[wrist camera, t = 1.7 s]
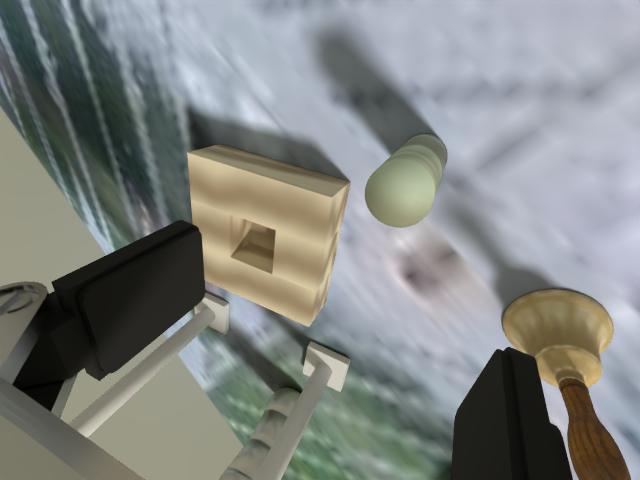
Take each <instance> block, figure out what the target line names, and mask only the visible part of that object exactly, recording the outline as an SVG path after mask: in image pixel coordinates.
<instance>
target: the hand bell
mask: <svg viewBox="0 0 640 480" xmlns="http://www.w3.org/2000/svg"><path fill="white" fill-rule="evenodd" d="M503 330H504V333H505V335H506V337H507V338H508V340H509V341H510V342H511V344H512V345H513V346H514V347H515V348H517V349H518V350H519V351H521V352H524V353H526V354H529V355H531V356H534V357H535V359H536V361H537V366H538V370H539V375H540V377H541V378H542V379H543V380H544V381H546V382H547V383H549V384H551V385H553V386H556V387H559V389H560V391H561V393H562V397H563V400H564V402H565V405H566V408H567V412H568V416H569V424H568V432H567V437H568V447H569V453H570V457H571V460H572V464H573V467H574V470H575V472H576V474H577V476H578V478H579V480H631V477H630V474H629V471H628V468H627V465H626V463H625V460H624V458H623V456H622V454H621V452H620V450H619V448H618V446H617V444H616V443H615V441H614V439H613V438H612V436H611V435H610V433H609V432H608V431H607V430H606V428H605V427H604V426H603V425H602V423H601V422H600V421H599V419H598V417H597V416H596V414H595V411H594V408H593V404H592V401H591V398H590V396H589V391H588V388H587V387H590V386H592V385H593V384H595V383H596V382H597V381H598V380H599V379H600V377H601V375H602V365H601V361H600V355H599V354H600V353H601V352H603V351H604V350H605V349H606V348H607V346H608V345H609V343H610V342H611V339H612V337H613V332H614V327H613V322H612V319H611V317H610V315H609V314H608V312H607V311H606V310H605V309H604V308H603V306H601V305H600V304H599V303H598V302H596V301H595V300H593V299H591V298H590V297H588V296H585V295H583V294H580V293H577V292H573V291H568V290H561V289H545V290H539V291H534V292H531V293H528V294H525V295H523V296H521V297H519V298H518V299H516V300H515V301H514V302H512V303H511V304H510V306H509V307H508V308H507V310H506V311H505V313H504V316H503Z"/></svg>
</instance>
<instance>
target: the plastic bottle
mask: <svg viewBox="0 0 640 480" xmlns="http://www.w3.org/2000/svg"><path fill="white" fill-rule="evenodd" d="M300 395H301V394H300V393H299V392H298V391H296V390H294V389H292V388H288V387H284V388H281V389H279V390H277V391H276V392H275V393H274V394H273V395H272V396H271V397H270V399H269V401H268V403H267V405H266V407H265V410H264V413H263V415H262V417H261V419H260V421H259V423H258V425H257V427H256V429H255V430H254V432H253V434H252V435H251V437H250V438H249V440H248V441H247V442H246V444H245V445H244V447H243V448H242V450H241V451H240V452H239V454H238V455H237V456H236V458H235V459H234V460H233V461H232V462H231V464H230V465H229V466H228V467H227V469H226V470H225V471H224V473H223V474H222V475H221V477H220V479H219V480H254V478H255V476H256V474H257V473H258V471H259V469H260V467H261V465H262V463H263V462H264V460H265V458H266V456H267V454H268V453H269V451H270V449H271V447H272V445H273V444H274V442H275V440H276V438H277V436H278V434H279V433H280V431H281V429H282V427H283V425H284V424H285V422H286V420H287V418H288V416H289V414H290V413H291V411H292V409H293V407H294V405H295V404H296V402H297V400H298V398H299V396H300Z"/></svg>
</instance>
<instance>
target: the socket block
mask: <svg viewBox="0 0 640 480" xmlns="http://www.w3.org/2000/svg"><path fill="white" fill-rule="evenodd" d="M187 155H188V168H189V181H190V194H191V207H192V220H193V225H196V226H197V227H198V228H199V231H200V232H201V234H202V246H203V261H204V277H205V281H208V282H210V283H212V284H214V285H217V286H219V287H221V288H223V289H225V290H228V291H230V292H232V293H234V294H237V295H239V296H241V297H243V298H245V299H248V300H250V301H252V302H254V303H257V304H259V305H261V306H263V307H265V308H268V309H270V310H272V311H274V312H277V313H279V314H281V315H283V316H285V317H288V318H290V319H292V320H294V321H297V322H299V323H301V324H303V325H305V326H308V327H309V326H310V325H311V323H312V322H313V320H314V319H315V317H316V316H317V314H318V313H319V311H320V310H321V308H322V307H323V305H324V304H325V302H326V299H327V294H328V289H329V284H330V280H331V275H332V270H333V265H334V260H335V255H336V250H337V245H338V240H339V236H340V231H341V226H342V221H343V216H344V211H345V206H346V201H347V196H348V192H349V187H350V182H349V181H346V180H342V179H339V178H335V177H332V176H329V175H325V174H322V173H318V172H315V171H311V170H308V169H305V168H301V167H298V166H294V165H291V164H287V163H284V162H280V161H277V160H274V159H270V158H267V157H263V156H260V155H256V154H253V153H250V152H246V151H243V150H239V149H236V148H232V147H229V146H225V145H222V144H218V145H214V146H210V147H207V148H203V149H199V150H195V151H191V152H188V153H187Z"/></svg>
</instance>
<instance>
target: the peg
mask: <svg viewBox="0 0 640 480" xmlns="http://www.w3.org/2000/svg"><path fill="white" fill-rule="evenodd" d="M446 162H447V149H446V146H445V144H444V143H443V142H442V140H440V139H439V138H438V137H436V136H434V135H431V134H419V135H416V136H413V137H412V138H410V139H409V140H408V141H407V142H406V143H405V144H403V145H402V146H401V147H400V148H399V149H398V150H397V151H396V152H395V153H394V154H393V155H392V156H391V157H390V158H389V159H387V160H386V161H385V162H384V163H383V164H382V165H381V166H380V167H379V168H378V169H377V170H376V171H375V172H374V173H373V174H372V175H371V176H370V178H369V180H368V182H367V184H366V188H365V200H366V204H367V207H368V209H369V211H370V212H371V213H372V215H373V216H374V217H375V218H376V219H377V220H379V221H380V222H382V223H384V224H386V225H388V226H392V227H408V226H411V225H414V224H416V223H418V222H419V221H421V220H422V219H423V218H424V217H425V216H426V215H427V214H428V212H429V210H430V208H431V206H432V203H433V200H434V197H435V194H436V191H437V188H438V186H439V183H440V180H441V177H442V174H443V171H444V168H445V165H446Z"/></svg>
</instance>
